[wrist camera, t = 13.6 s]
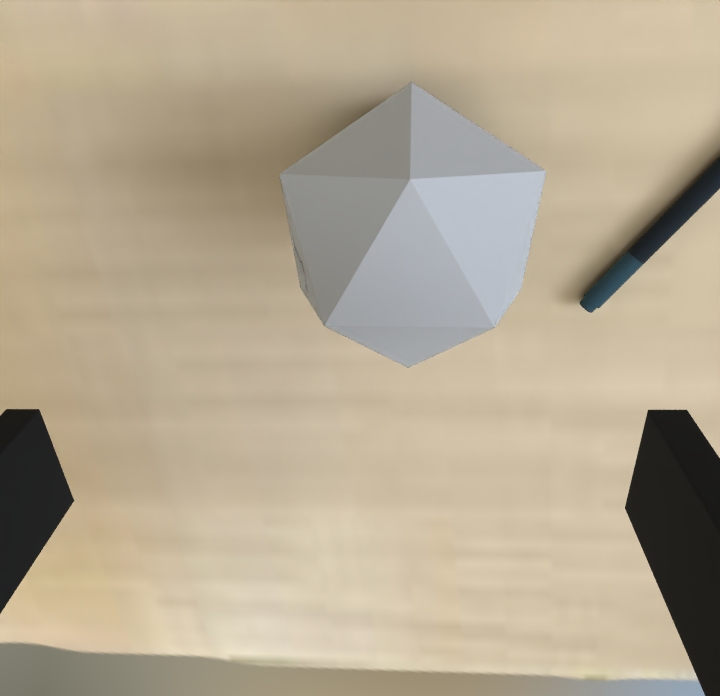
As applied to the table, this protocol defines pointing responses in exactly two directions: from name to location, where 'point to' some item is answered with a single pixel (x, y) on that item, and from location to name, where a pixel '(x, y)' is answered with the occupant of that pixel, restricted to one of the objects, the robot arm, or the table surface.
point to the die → (411, 227)
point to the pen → (654, 238)
